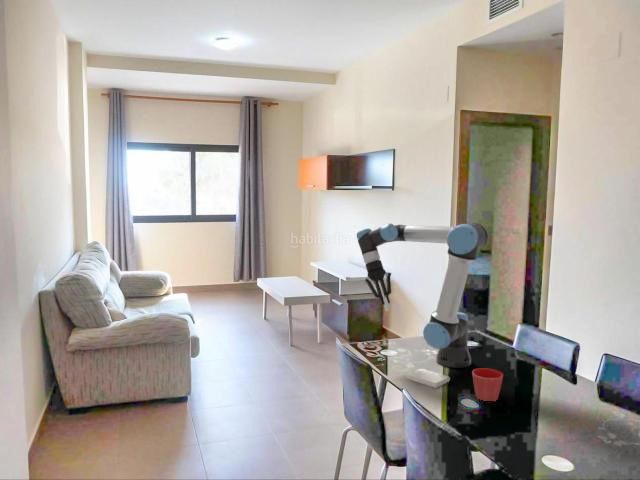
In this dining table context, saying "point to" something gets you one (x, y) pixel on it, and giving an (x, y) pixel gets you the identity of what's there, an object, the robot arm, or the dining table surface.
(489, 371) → the flower pot
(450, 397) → the dining table surface
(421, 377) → the tile
